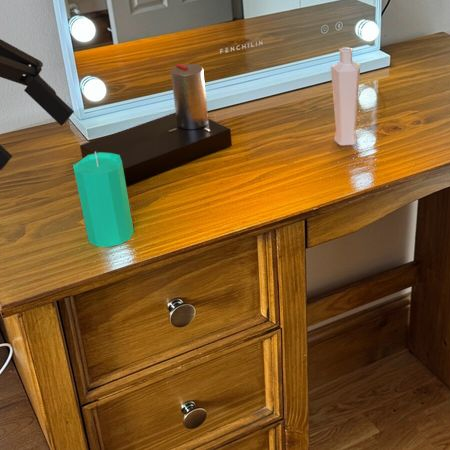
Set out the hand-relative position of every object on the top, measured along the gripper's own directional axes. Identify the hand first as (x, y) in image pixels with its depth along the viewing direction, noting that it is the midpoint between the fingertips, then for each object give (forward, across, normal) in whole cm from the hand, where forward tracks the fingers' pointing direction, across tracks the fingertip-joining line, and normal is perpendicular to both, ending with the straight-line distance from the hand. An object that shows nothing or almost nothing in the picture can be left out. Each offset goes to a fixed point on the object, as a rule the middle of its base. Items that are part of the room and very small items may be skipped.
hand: (38, 140), depth 96 cm
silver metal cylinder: (+12, -29, -2) cm, 32 cm away
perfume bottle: (+31, -35, +13) cm, 48 cm away
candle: (+15, 0, -3) cm, 15 cm away
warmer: (+11, -23, -6) cm, 27 cm away
